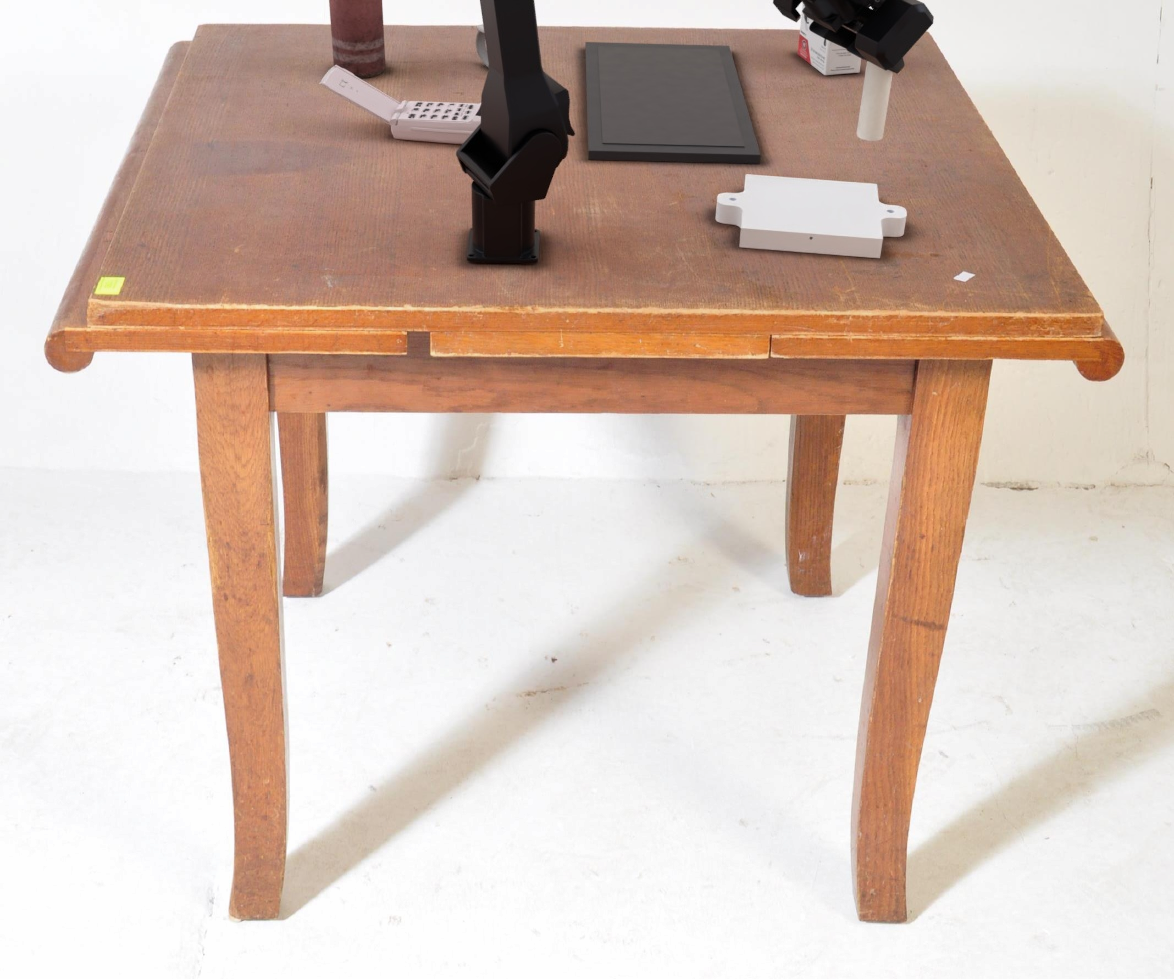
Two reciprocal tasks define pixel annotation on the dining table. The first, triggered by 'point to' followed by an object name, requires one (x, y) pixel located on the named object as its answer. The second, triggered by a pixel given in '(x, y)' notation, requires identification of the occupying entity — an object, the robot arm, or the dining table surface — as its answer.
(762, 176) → the mounting plate
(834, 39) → the robot arm
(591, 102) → the tablet
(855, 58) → the ink box
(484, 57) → the wristwatch
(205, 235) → the dining table surface
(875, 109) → the white plastic rod
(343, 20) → the can
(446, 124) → the mobile phone
